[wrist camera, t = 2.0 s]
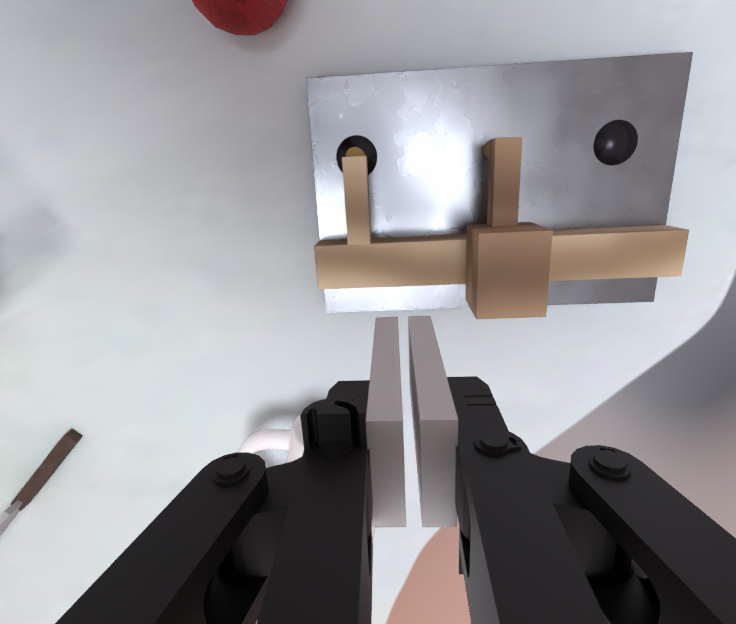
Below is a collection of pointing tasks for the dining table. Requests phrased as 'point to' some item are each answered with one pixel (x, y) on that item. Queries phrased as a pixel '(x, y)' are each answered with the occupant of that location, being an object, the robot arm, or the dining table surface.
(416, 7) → the dining table surface
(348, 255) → the beam
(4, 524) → the kitchen knife
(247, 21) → the onion
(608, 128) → the bolt plate
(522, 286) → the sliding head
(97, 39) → the dining table surface
